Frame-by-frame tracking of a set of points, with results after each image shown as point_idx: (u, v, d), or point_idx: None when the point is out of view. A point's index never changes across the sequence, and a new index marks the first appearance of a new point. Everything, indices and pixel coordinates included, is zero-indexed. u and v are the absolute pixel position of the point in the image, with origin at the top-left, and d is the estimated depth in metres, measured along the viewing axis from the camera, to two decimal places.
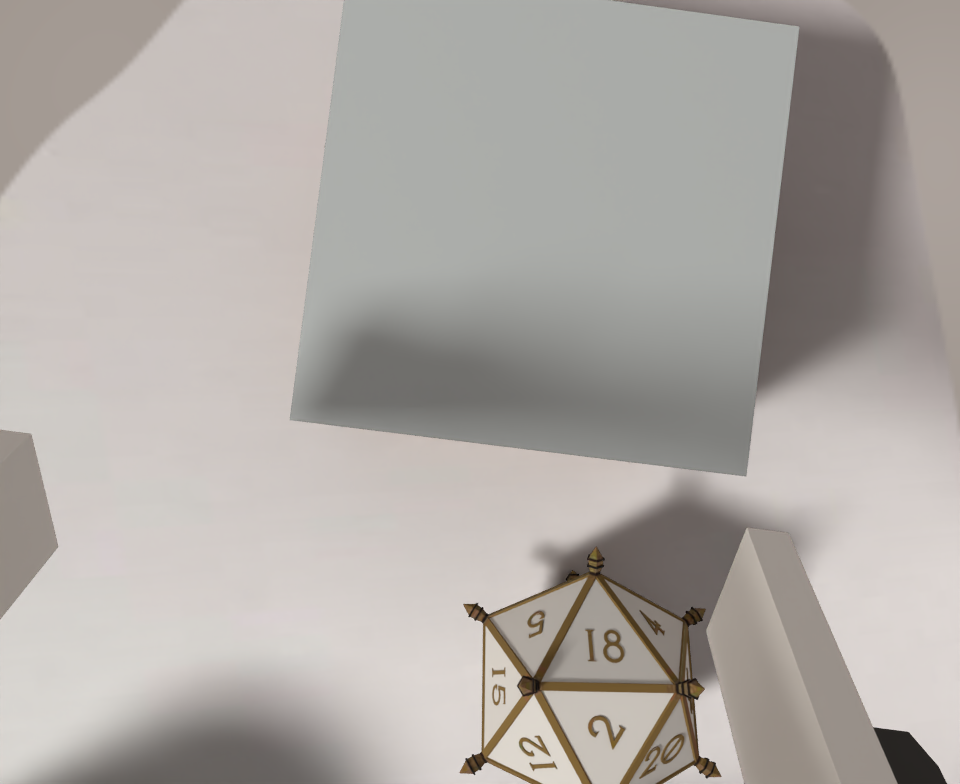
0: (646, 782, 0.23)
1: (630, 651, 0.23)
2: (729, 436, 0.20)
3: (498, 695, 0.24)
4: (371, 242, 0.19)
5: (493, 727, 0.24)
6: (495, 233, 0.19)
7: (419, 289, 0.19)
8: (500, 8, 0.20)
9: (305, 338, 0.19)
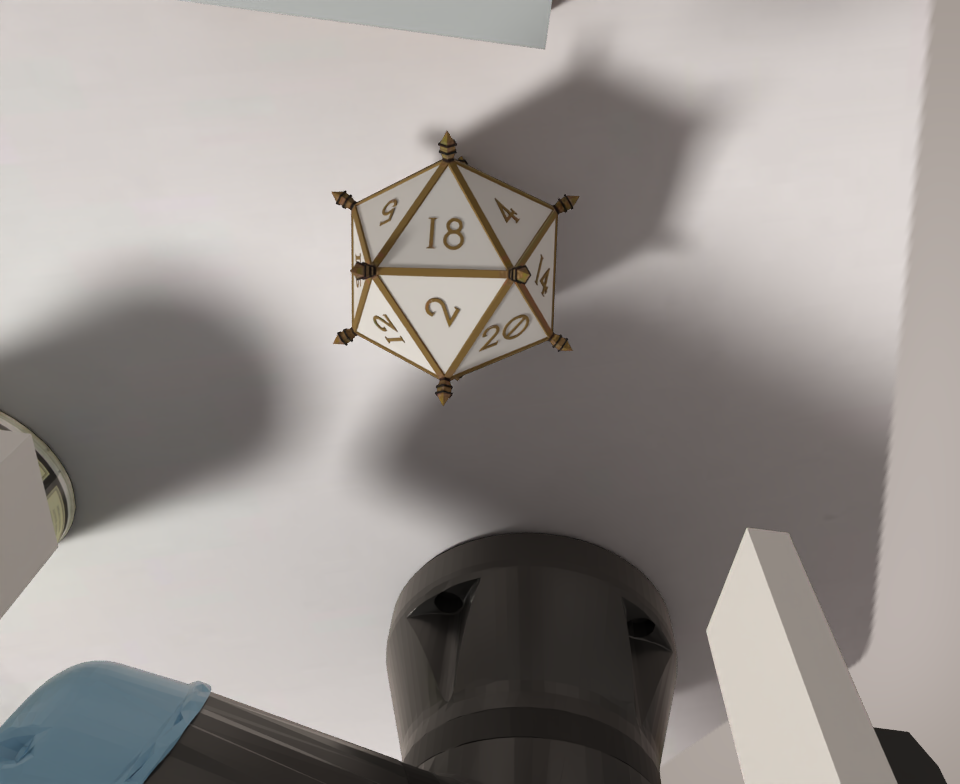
0: (489, 354, 0.25)
1: (470, 239, 0.23)
2: None
3: None
4: None
5: (356, 306, 0.25)
6: None
7: None
8: None
9: None
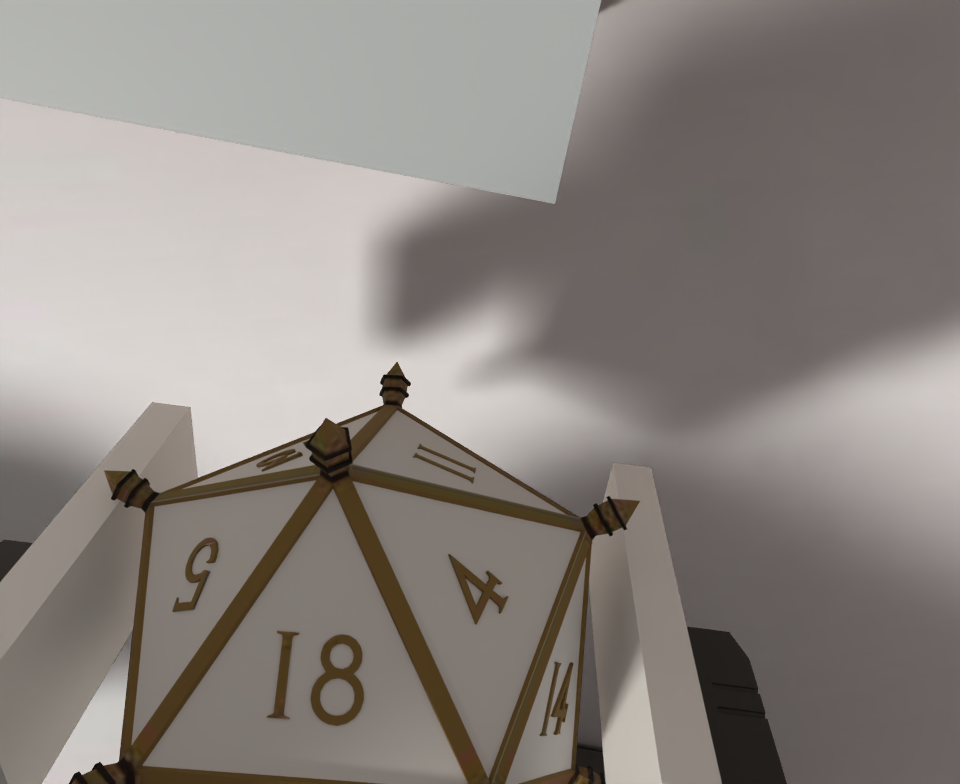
0: None
1: (380, 693, 0.09)
2: (513, 70, 0.06)
3: None
4: None
5: None
6: None
7: None
8: None
9: None
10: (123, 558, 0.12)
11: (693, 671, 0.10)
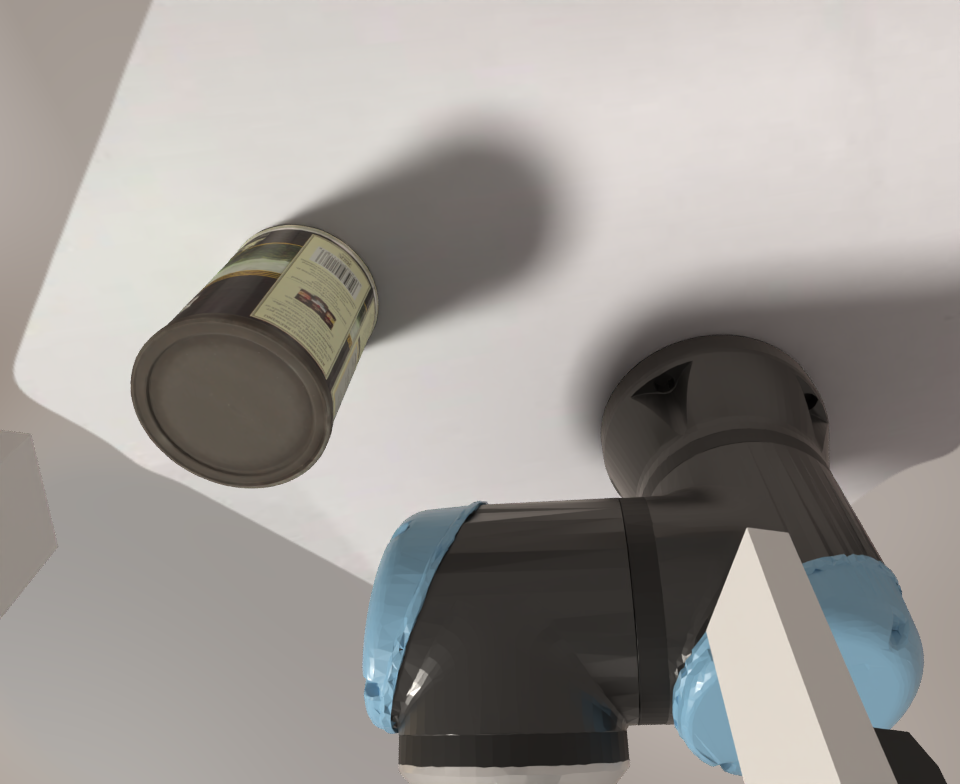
0: None
1: None
2: None
3: None
4: None
5: None
6: None
7: None
8: None
9: None
10: None
11: None
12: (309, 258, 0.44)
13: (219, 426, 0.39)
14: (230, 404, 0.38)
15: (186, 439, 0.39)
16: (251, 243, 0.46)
